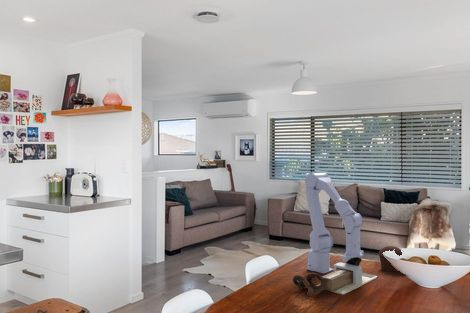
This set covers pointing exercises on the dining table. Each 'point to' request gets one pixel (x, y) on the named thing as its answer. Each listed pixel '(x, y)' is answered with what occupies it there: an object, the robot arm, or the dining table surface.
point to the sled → (337, 279)
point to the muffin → (384, 262)
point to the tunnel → (358, 277)
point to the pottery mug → (309, 283)
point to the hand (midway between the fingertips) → (353, 275)
